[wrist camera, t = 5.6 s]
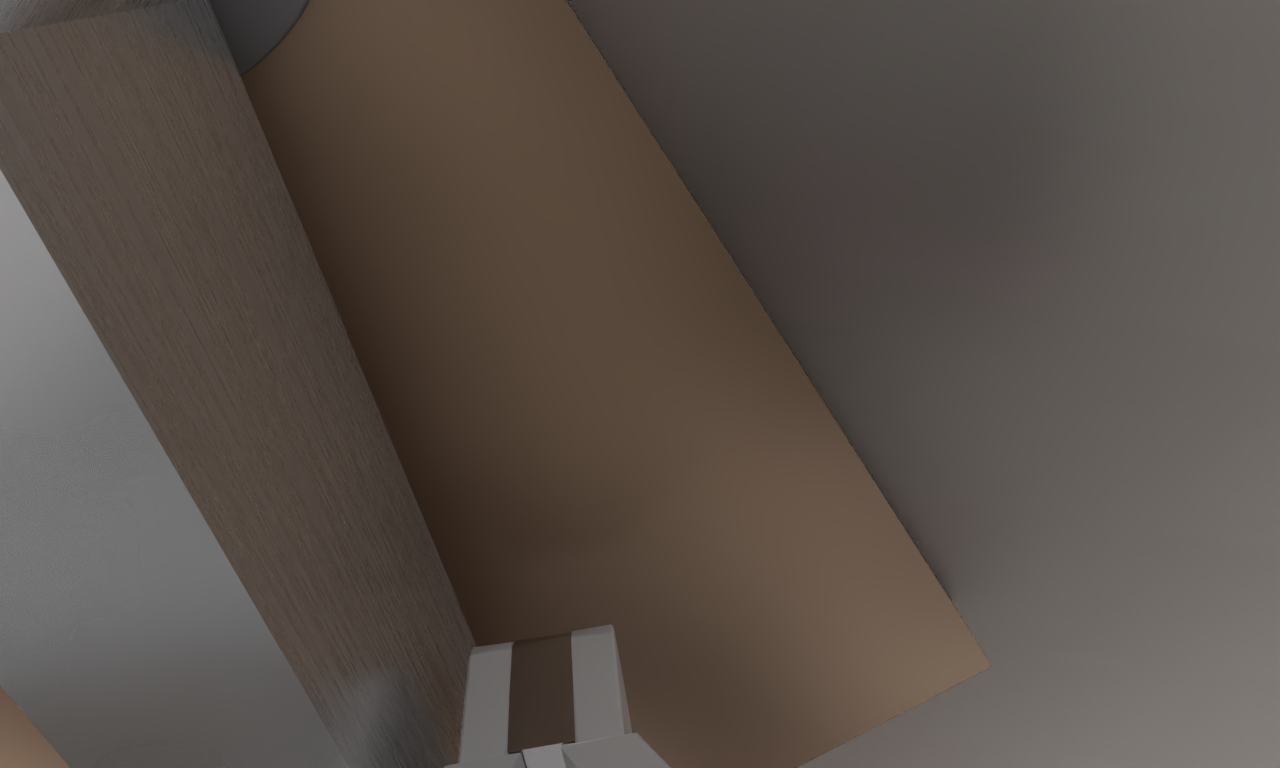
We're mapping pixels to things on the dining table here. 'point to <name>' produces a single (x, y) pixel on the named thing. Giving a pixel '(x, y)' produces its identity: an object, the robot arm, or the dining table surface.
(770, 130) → the dining table surface
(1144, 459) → the dining table surface
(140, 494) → the lock bar
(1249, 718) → the dining table surface
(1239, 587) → the dining table surface
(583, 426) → the wooden cutting board
